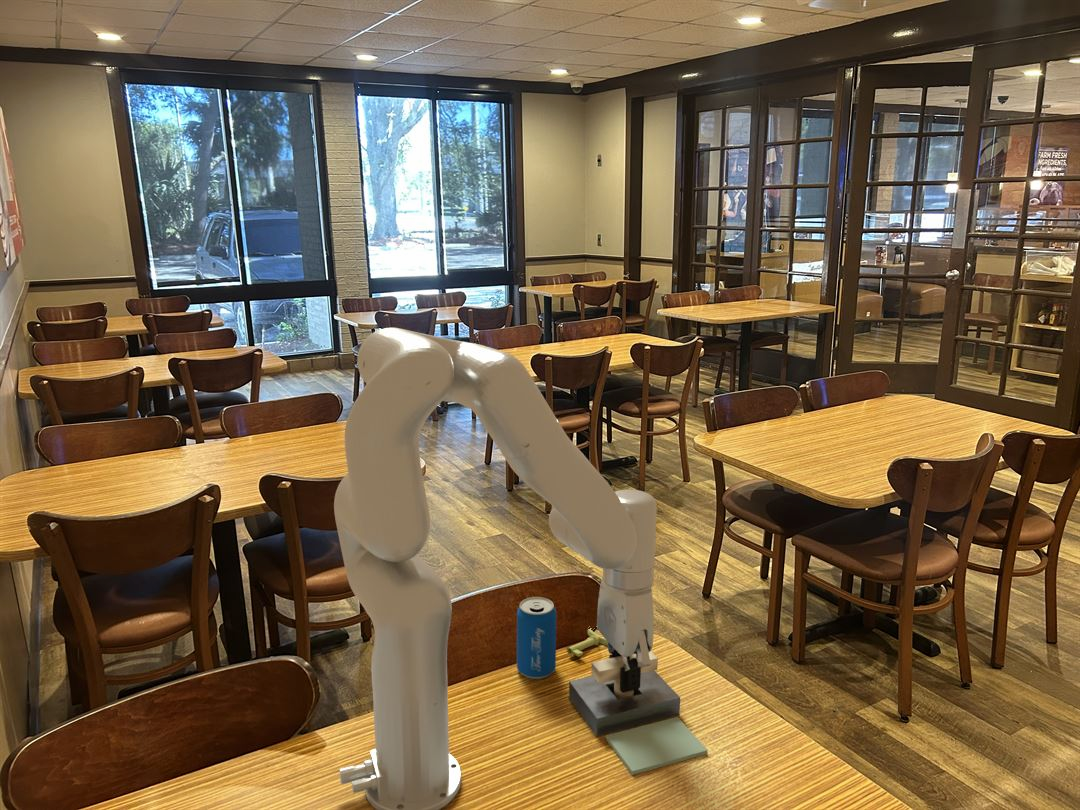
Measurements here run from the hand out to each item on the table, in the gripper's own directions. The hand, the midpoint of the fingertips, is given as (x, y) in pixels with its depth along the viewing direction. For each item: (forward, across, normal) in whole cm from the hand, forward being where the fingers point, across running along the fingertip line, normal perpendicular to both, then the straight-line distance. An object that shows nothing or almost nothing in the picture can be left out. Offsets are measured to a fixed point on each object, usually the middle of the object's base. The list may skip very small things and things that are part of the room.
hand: (624, 682), depth 118 cm
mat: (+4, +10, 0) cm, 11 cm away
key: (+5, -18, +4) cm, 19 cm away
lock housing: (+4, 0, 0) cm, 4 cm away
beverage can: (+4, -14, -9) cm, 17 cm away
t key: (+4, 0, 0) cm, 4 cm away
